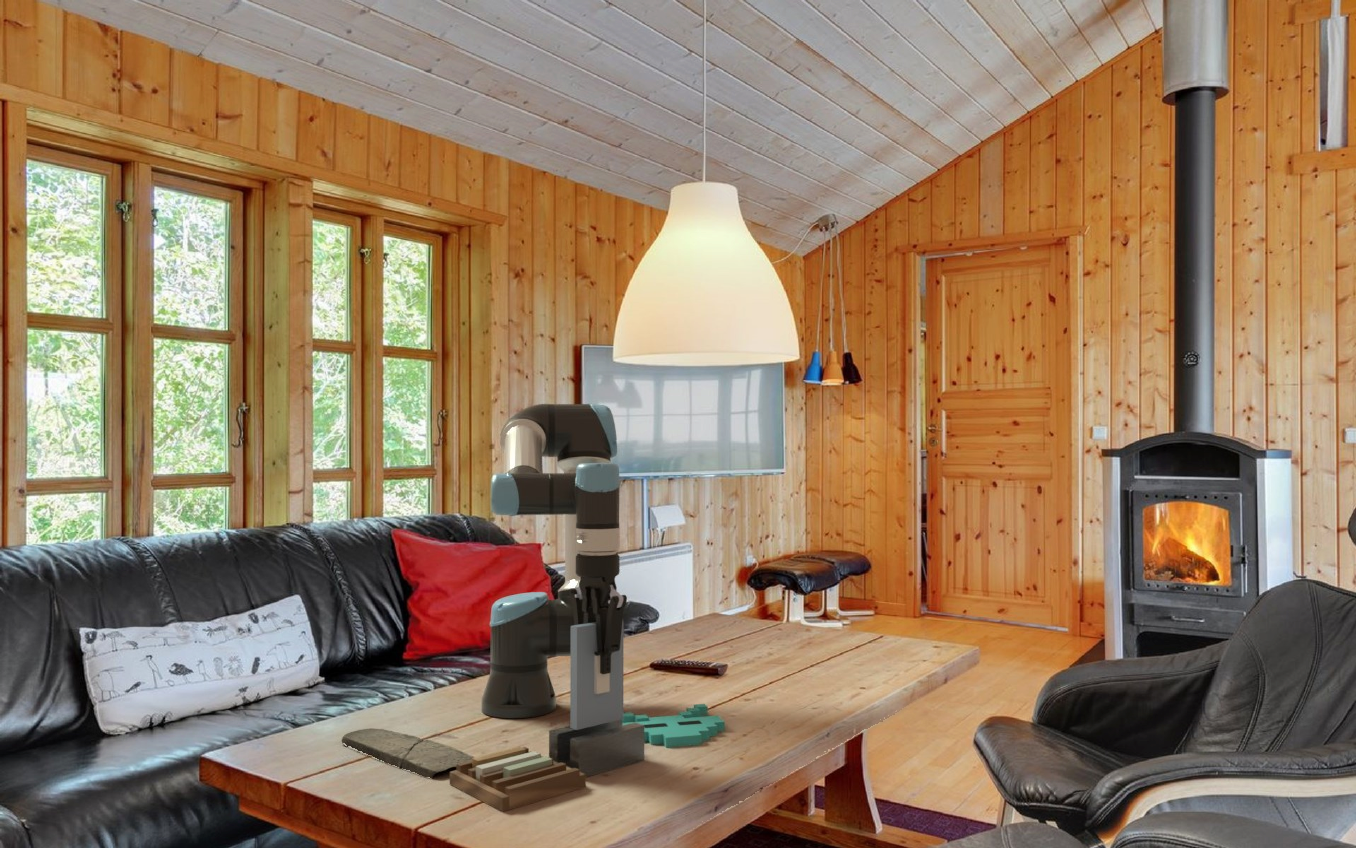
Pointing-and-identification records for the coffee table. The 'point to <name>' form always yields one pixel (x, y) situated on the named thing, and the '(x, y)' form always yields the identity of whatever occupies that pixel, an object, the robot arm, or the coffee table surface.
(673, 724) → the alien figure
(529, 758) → the offcut
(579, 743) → the holder
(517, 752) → the offcut
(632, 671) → the coffee table surface
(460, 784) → the rack
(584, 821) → the coffee table surface
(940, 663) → the coffee table surface
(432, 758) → the stone slab
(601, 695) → the tall sheet
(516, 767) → the offcut
